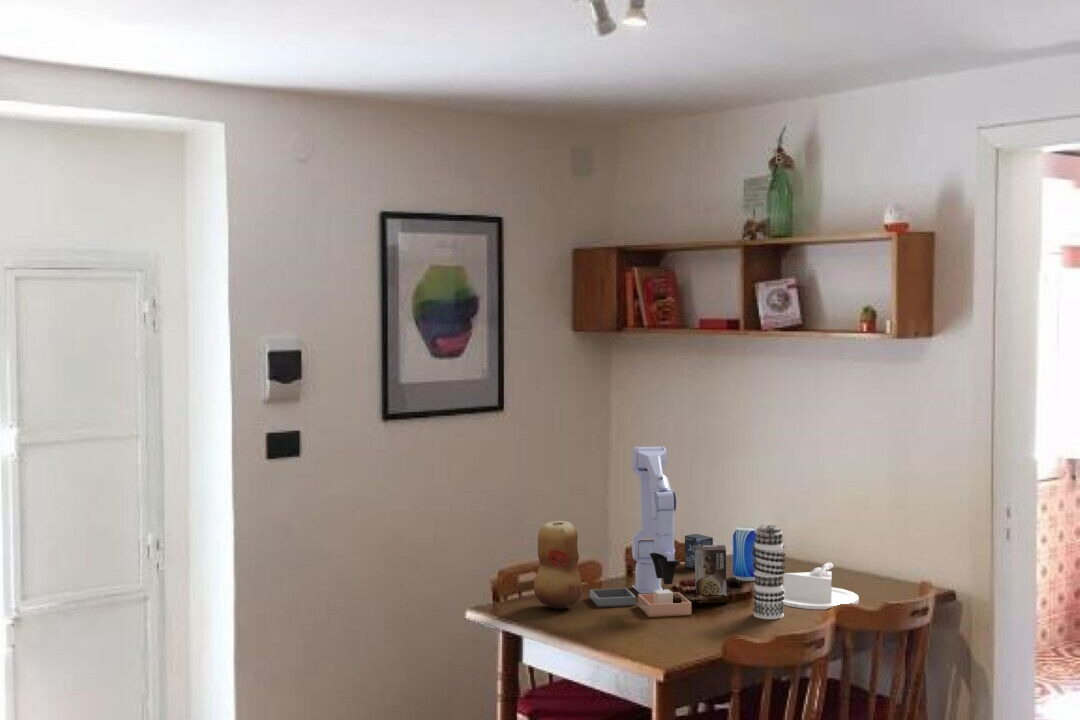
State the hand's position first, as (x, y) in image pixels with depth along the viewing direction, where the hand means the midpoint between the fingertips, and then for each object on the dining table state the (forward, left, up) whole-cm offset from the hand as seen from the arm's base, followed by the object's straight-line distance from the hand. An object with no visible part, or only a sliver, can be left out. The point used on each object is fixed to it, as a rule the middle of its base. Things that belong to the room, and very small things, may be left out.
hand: (664, 580), depth 353 cm
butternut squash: (-9, -29, -9) cm, 32 cm away
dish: (-4, +47, -9) cm, 48 cm away
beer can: (-33, +36, -9) cm, 50 cm away
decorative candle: (+11, +27, -9) cm, 30 cm away
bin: (0, 0, -9) cm, 9 cm away
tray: (-13, -12, -9) cm, 20 cm away
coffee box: (-7, +16, -9) cm, 20 cm away
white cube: (0, 0, -8) cm, 8 cm away
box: (-51, +26, -9) cm, 58 cm away
